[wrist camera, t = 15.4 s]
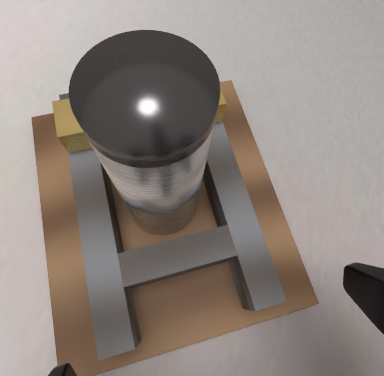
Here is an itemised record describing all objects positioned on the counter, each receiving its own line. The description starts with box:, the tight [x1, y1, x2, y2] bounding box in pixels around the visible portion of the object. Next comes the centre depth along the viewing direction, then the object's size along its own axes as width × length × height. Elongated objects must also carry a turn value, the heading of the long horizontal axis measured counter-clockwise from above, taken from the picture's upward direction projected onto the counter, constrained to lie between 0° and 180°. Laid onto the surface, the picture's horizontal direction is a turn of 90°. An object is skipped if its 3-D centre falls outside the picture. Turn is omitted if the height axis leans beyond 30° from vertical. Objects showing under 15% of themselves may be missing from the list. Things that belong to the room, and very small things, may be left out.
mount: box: [32, 80, 319, 376], centre depth 19 cm, size 18×16×4 cm
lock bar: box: [52, 87, 227, 154], centre depth 18 cm, size 2×10×2 cm, turn 106°
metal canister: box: [69, 30, 220, 235], centre depth 15 cm, size 5×5×12 cm
